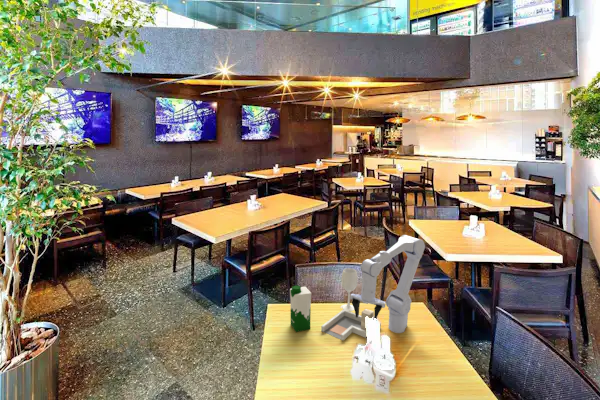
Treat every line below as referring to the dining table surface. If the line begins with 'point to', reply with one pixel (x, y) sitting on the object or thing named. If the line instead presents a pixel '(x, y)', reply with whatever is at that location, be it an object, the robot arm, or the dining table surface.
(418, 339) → the dining table surface
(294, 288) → the milk carton
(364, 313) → the peg
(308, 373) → the dining table surface
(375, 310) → the robot arm
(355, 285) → the wineglass
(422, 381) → the dining table surface
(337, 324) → the walled channel course
